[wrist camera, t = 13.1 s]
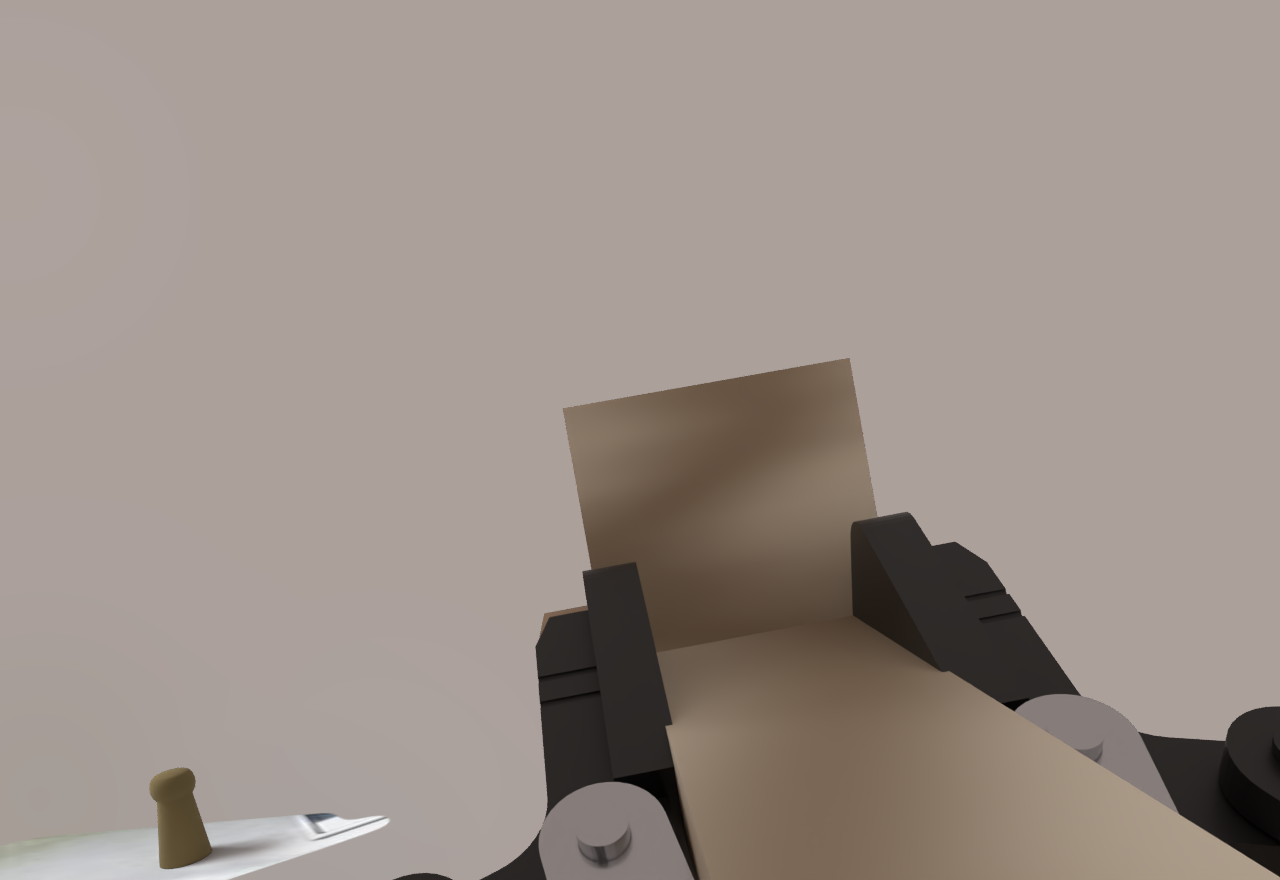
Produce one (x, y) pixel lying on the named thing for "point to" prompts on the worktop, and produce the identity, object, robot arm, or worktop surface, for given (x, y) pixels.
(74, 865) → the worktop surface
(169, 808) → the cork
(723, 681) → the slat
